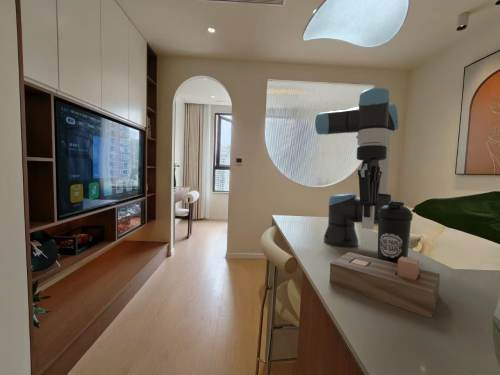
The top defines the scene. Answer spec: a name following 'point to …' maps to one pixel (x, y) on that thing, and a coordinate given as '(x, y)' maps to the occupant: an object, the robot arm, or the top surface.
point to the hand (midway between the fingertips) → (367, 228)
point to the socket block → (386, 283)
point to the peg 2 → (408, 268)
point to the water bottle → (393, 231)
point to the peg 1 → (360, 262)
